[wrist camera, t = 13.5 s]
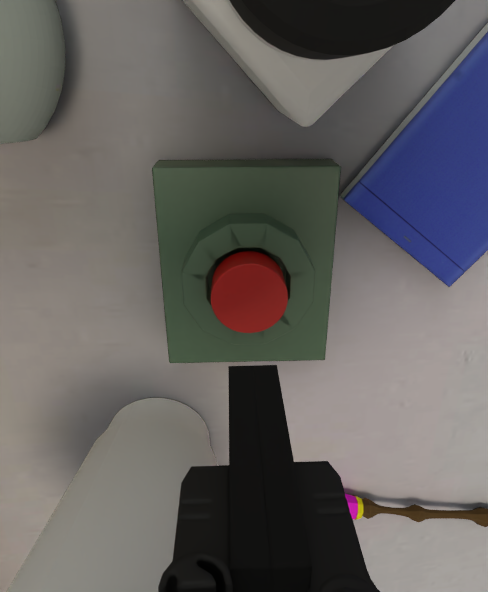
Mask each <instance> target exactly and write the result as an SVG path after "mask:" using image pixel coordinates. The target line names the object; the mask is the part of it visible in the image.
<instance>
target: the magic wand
mask: <svg viewBox="0 0 488 592" xmlns="http://www.w3.org/2000/svg"><path fill="white" fill-rule="evenodd" d="M345 498H346V499H347V502H348V506H349V509H350V513H351V516H352V519H355V520H356V519H359V518H362V516H364V517H365V518H367V519H369V518H372V517H373V516H375V515H376V514H380V513H388V514H396V515H402V516H406V517H409V518H410V519H412V520H414V521H417V522H421V521H423V520H425V519H429V518H459V519H469V520H472V521H474V522H475V523H477V524H479V525H481V526H484V527H487V526H488V509H486V508H481V507H479V508H476V509H474V510H469V511H468V510H455V511H446V510H428V509H424V508H422V507H421V506H418V505H415V504H414V505H411V506H409V507H406V508H391V507H384V506H379V505H377V504H375V503H374V502H373V501H371V500H369V499H367V498H363V499H361V498H359V497H357V496H354V495H349V494H346V493H345Z"/></svg>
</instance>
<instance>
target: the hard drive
mask: <svg viewBox="0 0 488 592" xmlns="http://www.w3.org/2000/svg"><path fill="white" fill-rule="evenodd" d="M340 196H341V198H342V199H343V200H344V201H346V202H347V203H348V204H349V205H350V206H352V207H353V208H354V209H355V210H356V211H358V212H359V213H360V214H361V215H362V216H364V217H365V218H366V219H367V220H369V221H370V222H371V223H372V224H373V225H375V226H376V227H377V228H378V229H379V230H381V231H382V232H383V233H384V234H385V235H387V236H388V237H389V238H390V239H391V240H393V241H394V242H395V243H396V244H398V245H399V246H400V247H401V248H403V249H404V250H405V251H406V252H407V253H409V254H410V255H411V256H412V257H413V258H415V259H416V260H417V261H418V262H419V263H421V264H422V265H423V266H424V267H426V268H427V269H428V270H429V271H430V272H432V273H433V274H434V275H435V276H436V277H438V278H439V279H440V280H441V281H442V282H444V283H445V284H446V285H447V286H448V287H450V286H451V285H452V284H453V283H454V282H455V281H456V280H457V279H458V278H459V277H460V276H461V275H463V273H464V272H465V271H466V270H467V269H469V268H470V267H471V266H472V265H473V264H474V263H475V262H476V261H477V260H478V259H479V258H480V257H481V256H482V255H483V254H484V253H485V252H486V251H487V250H488V23H487V24H486V25H485V26H484V27H483V29H482V30H481V31H480V32H479V33H478V34H477V36H476V37H475V38H474V39H473V40H472V41H471V43H470V44H469V45H468V46H467V47H466V48H465V50H464V51H463V52H462V53H461V54H460V56H459V57H458V58H457V59H456V60H455V61H454V62H453V64H452V65H451V66H450V67H449V68H448V69H447V71H446V72H445V73H444V74H443V75H442V76H441V78H440V79H439V80H438V81H437V82H436V83H435V85H434V86H433V87H432V88H431V89H430V90H429V92H428V93H427V94H426V95H425V96H424V98H423V99H422V100H421V101H420V102H419V103H418V104H417V105H416V107H415V108H414V109H413V110H412V111H411V113H410V114H409V115H408V116H407V117H406V118H405V120H404V121H403V122H402V123H401V124H400V125H399V127H398V128H397V129H396V130H395V131H394V133H393V134H392V135H391V136H390V137H389V139H388V140H387V141H386V142H385V143H384V144H383V145H382V147H381V148H380V149H379V150H378V151H377V152H376V154H375V155H374V156H373V157H372V158H371V159H370V161H369V162H368V163H367V164H366V165H365V167H364V168H363V169H362V170H361V171H360V172H359V174H358V175H357V176H356V177H355V178H354V179H353V181H352V182H351V183H350V184H349V185H348V186H347V187H346V189H345V190H344V191H343V192H342V193H341V194H340Z"/></svg>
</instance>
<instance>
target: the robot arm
mask: <svg viewBox="0 0 488 592" xmlns="http://www.w3.org/2000/svg"><path fill="white" fill-rule="evenodd" d="M177 517H178V519H177V525H176V534H175V543H174V552H173V561H172V562H171V564H170V565H169V566H168V567H167V569H166V570H165V571H164V572H163V574H162V577H161V580H160V583H159V586H158V591H159V592H380V591H379V590H378V589H377V588H376V586H375V585H374V583H373V582H372V580H371V579H370V576H369V574H368V571H367V569H366V565H365V562H364V558H363V555H362V551H361V548H360V544H359V541H358V537H357V534H356V530H355V527H354V523H353V520H352V516H351V513H350V509H349V506H348V502H347V499H346V498H345V492H344V489H343V485H342V482H341V478H340V476H339V475H338V473H337V472H336V471H335V470H334V468H333V467H332V466H331V465H330V464H329V462H328V461H318V462H294V461H293V455H292V449H291V444H290V438H289V432H288V427H287V421H286V416H285V410H284V404H283V399H282V393H281V387H280V382H279V376H278V370H277V365H263V366H229V465H225V466H192V467H191V468H190V469H189V471H188V473H187V474H186V476H185V477H184V479H183V481H182V482H181V490H180V499H179V507H178V516H177Z"/></svg>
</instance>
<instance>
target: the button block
mask: <svg viewBox="0 0 488 592" xmlns="http://www.w3.org/2000/svg"><path fill="white" fill-rule="evenodd" d="M340 171H341V166H340V165H339V164H337V163H336V162H335V161H334V160H332V159H248V160H159V161H158V162H157V163H156V164H155V165H154V167H153V168H152V174H153V185H154V196H155V208H156V219H157V230H158V241H159V253H160V264H161V275H162V287H163V298H164V309H165V320H166V332H167V343H168V354H169V362H170V363H195V362H246V361H297V360H325V352H326V340H327V328H328V316H329V304H330V291H331V279H332V267H333V255H334V243H335V231H336V219H337V207H338V195H339V183H340ZM243 251H254V252H259V253H262V254H265V255H267V256H268V257H270V258H271V259H273V260H274V261H275V262H276V263H277V264H278V266H279V267H280V269H281V271H282V273H283V276H284V280H285V284H286V287H287V292H288V303H287V307H286V310H285V312H284V314H283V315H282V317H281V318H280V319H279V320H278V321H277V322H276V323H275V324H274V325H273V326H271V327H270V328H268V329H266V330H263V331H260V332H255V333H242V332H238V331H234V330H232V329H230V328H228V327H226V326H225V325H224V324H222V323H221V322H220V321H219V319H218V318H217V317H216V315H215V314H214V312H213V309H212V306H211V288H212V279H213V275H214V272H215V270H216V269H217V267H218V266H219V264H220V263H221V262H222V261H223V260H224V259H226V258H227V257H229V256H231V255H233V254H235V253H238V252H243Z"/></svg>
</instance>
